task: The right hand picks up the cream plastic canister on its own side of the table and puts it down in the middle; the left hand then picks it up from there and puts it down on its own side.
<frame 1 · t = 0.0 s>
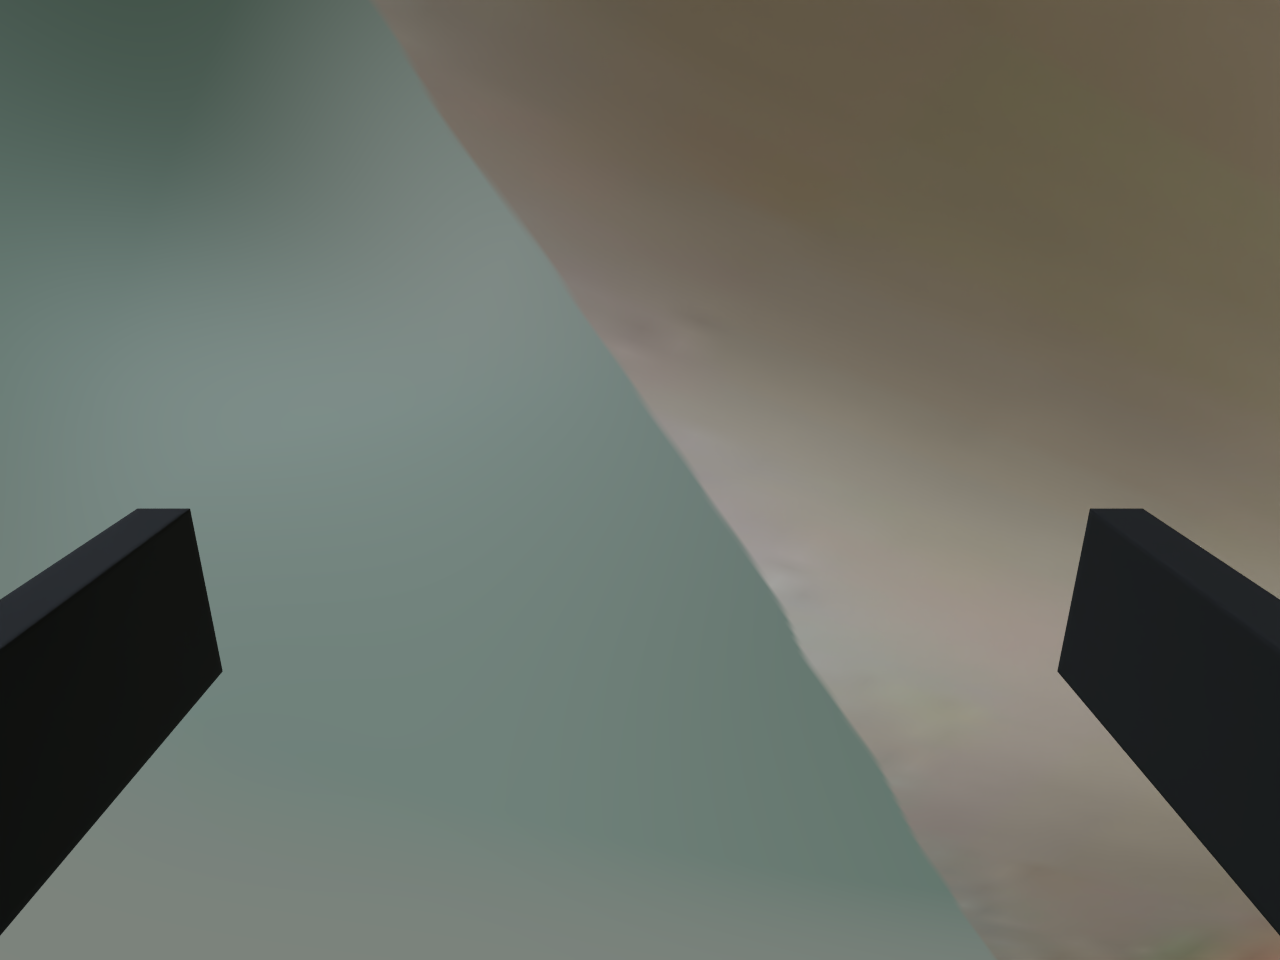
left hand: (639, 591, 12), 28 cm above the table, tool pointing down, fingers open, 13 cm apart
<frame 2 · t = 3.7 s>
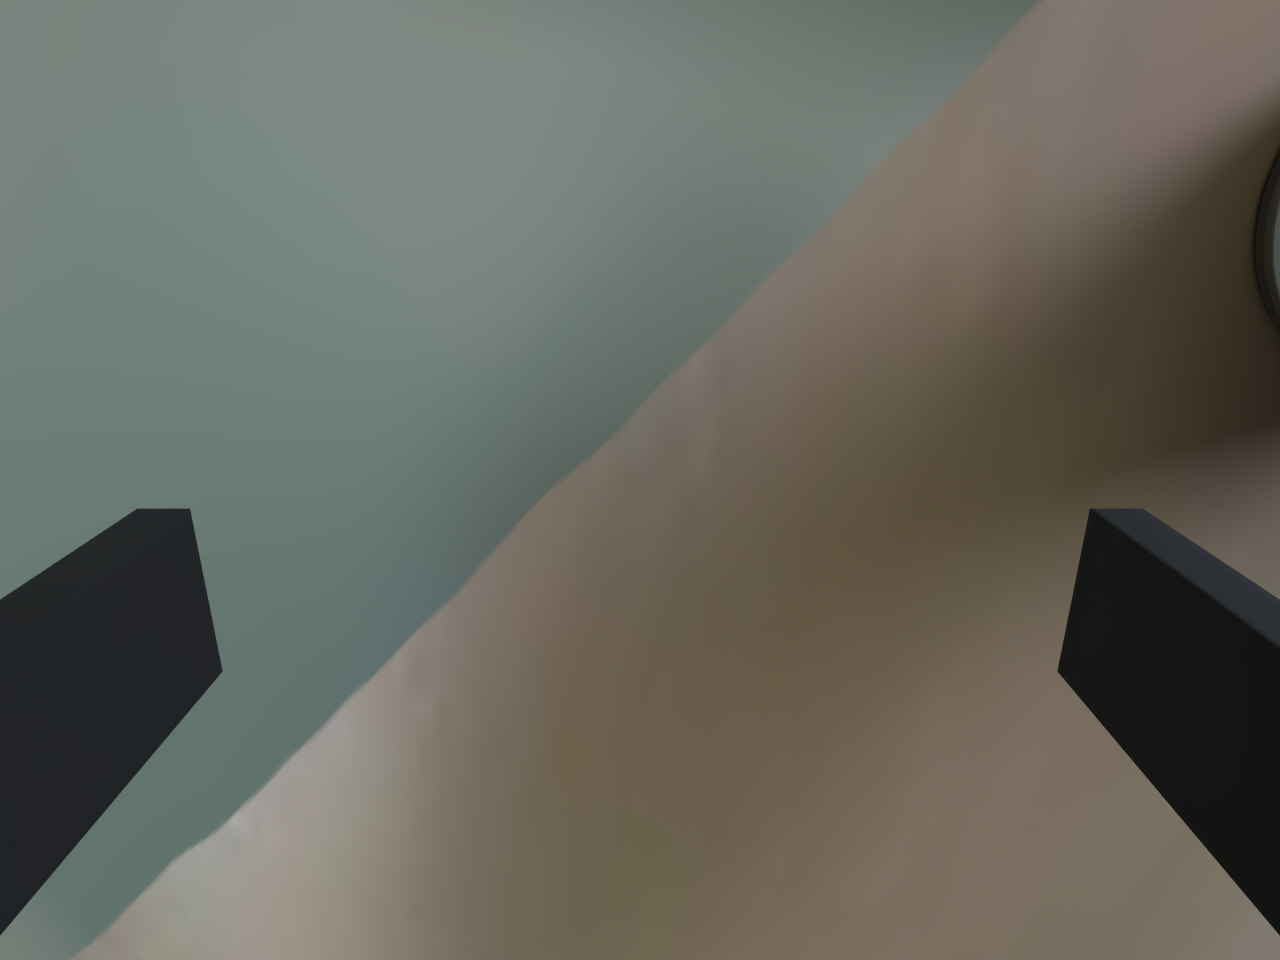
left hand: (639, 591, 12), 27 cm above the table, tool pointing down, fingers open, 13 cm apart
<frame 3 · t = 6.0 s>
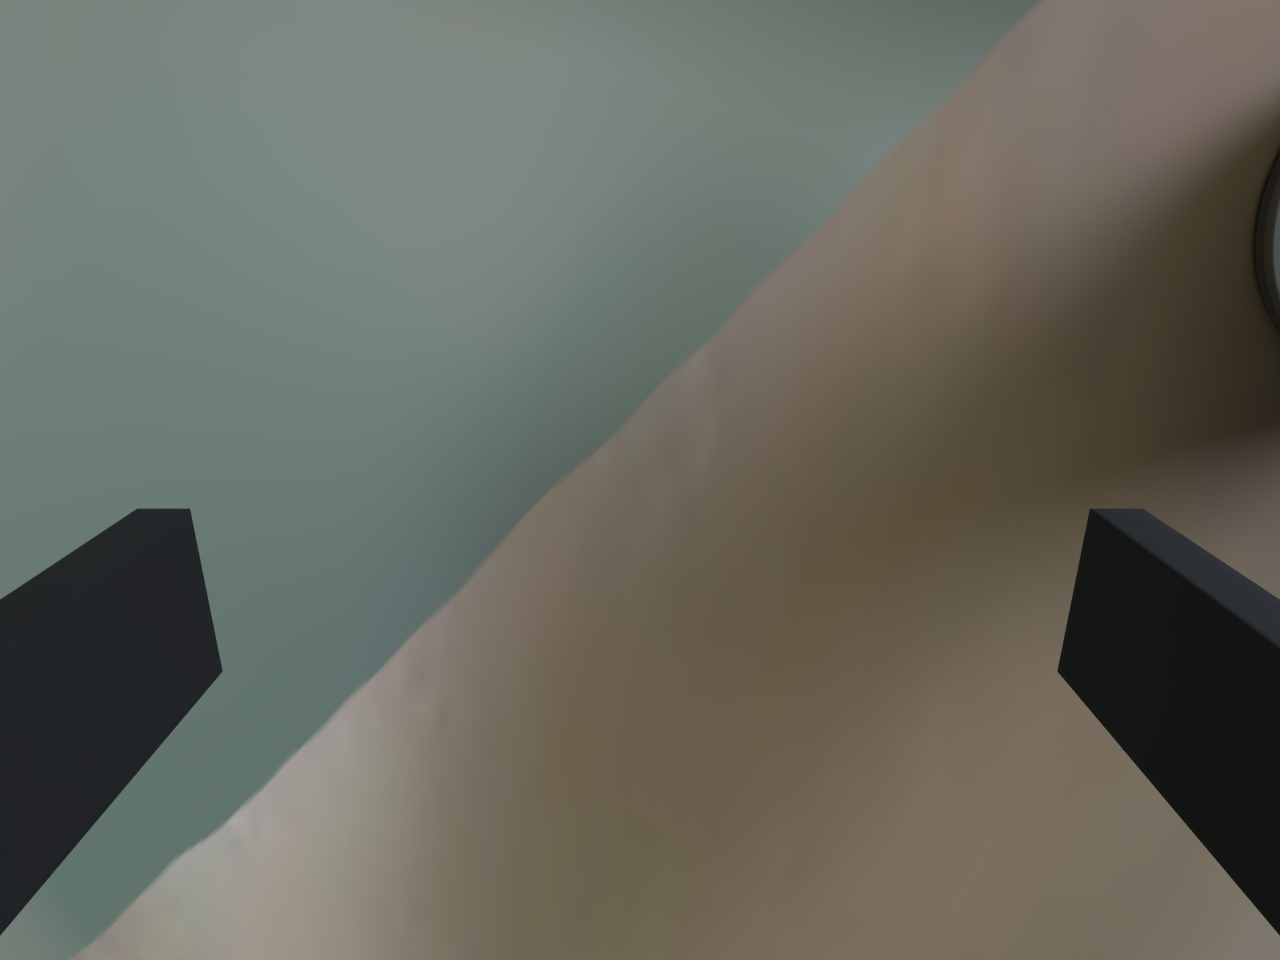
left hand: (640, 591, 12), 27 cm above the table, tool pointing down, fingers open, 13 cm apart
when the right hand's fingers open (5 cm above the table, at t = 8.7 s): canister drops 1 cm, on the table.
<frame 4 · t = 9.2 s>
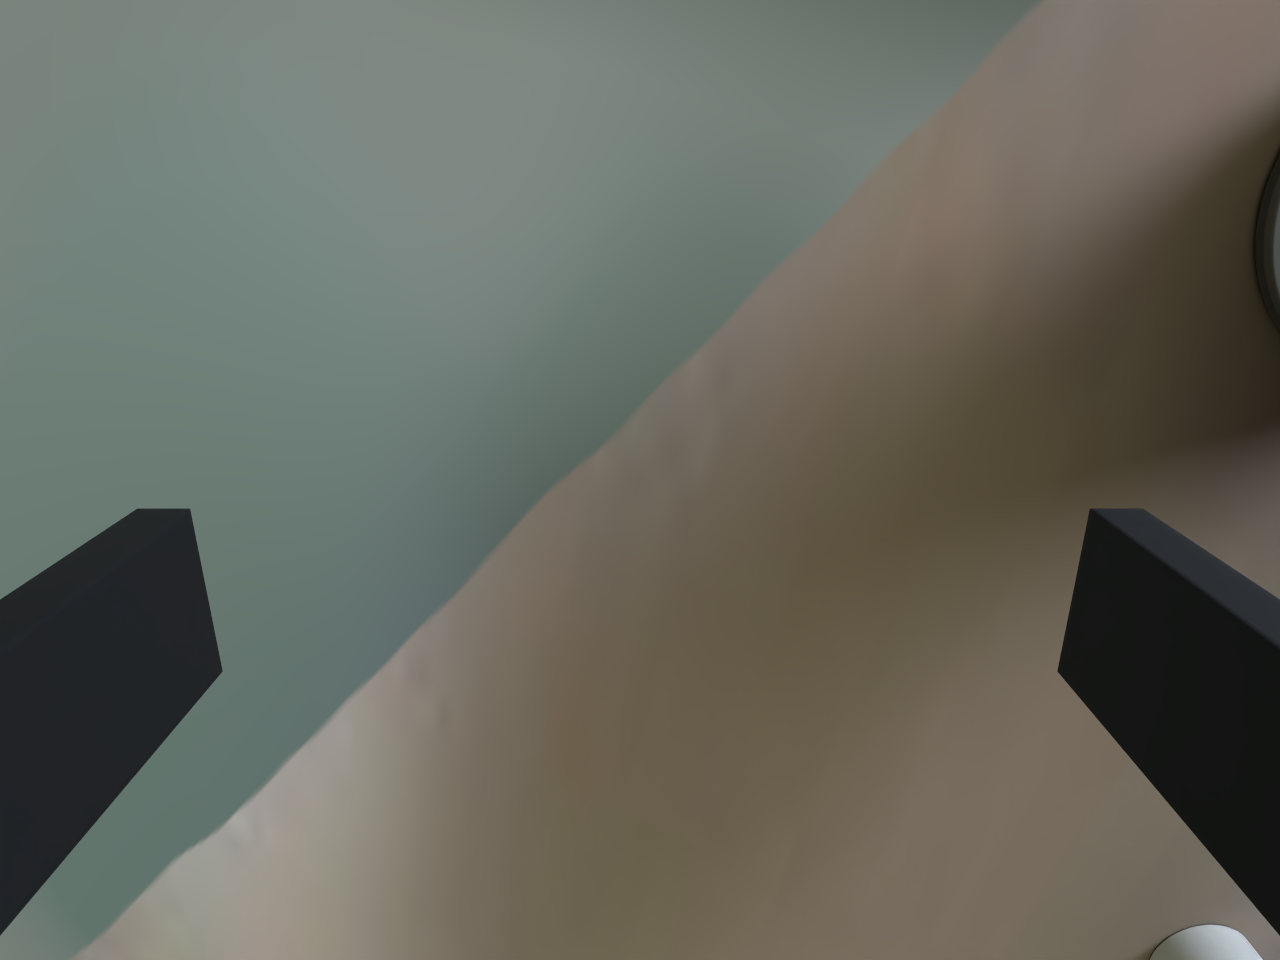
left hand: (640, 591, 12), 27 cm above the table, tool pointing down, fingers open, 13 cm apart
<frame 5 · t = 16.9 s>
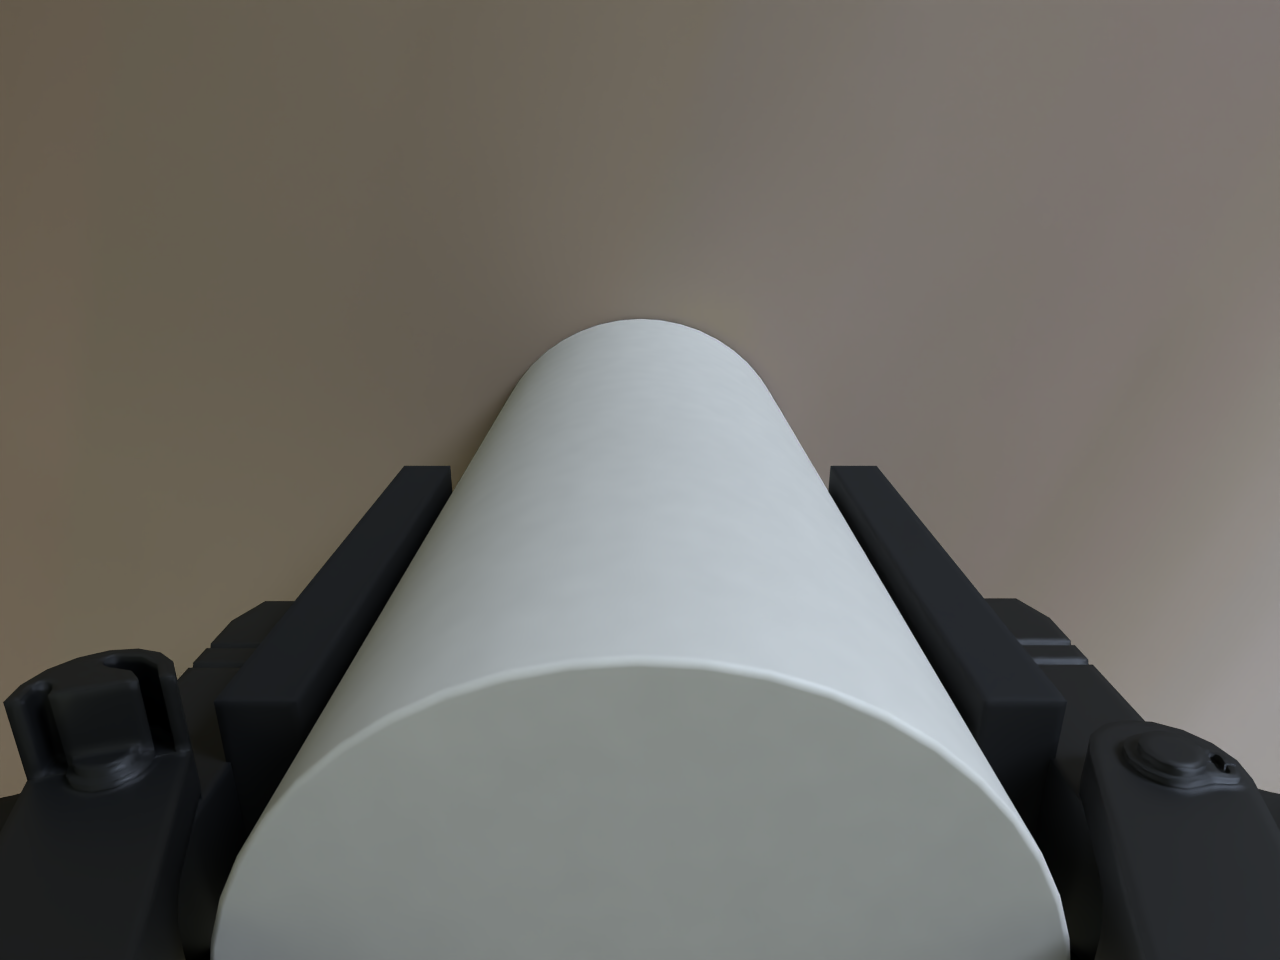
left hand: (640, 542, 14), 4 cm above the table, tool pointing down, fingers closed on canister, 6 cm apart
canister: (640, 464, 18), on the table, touching left hand
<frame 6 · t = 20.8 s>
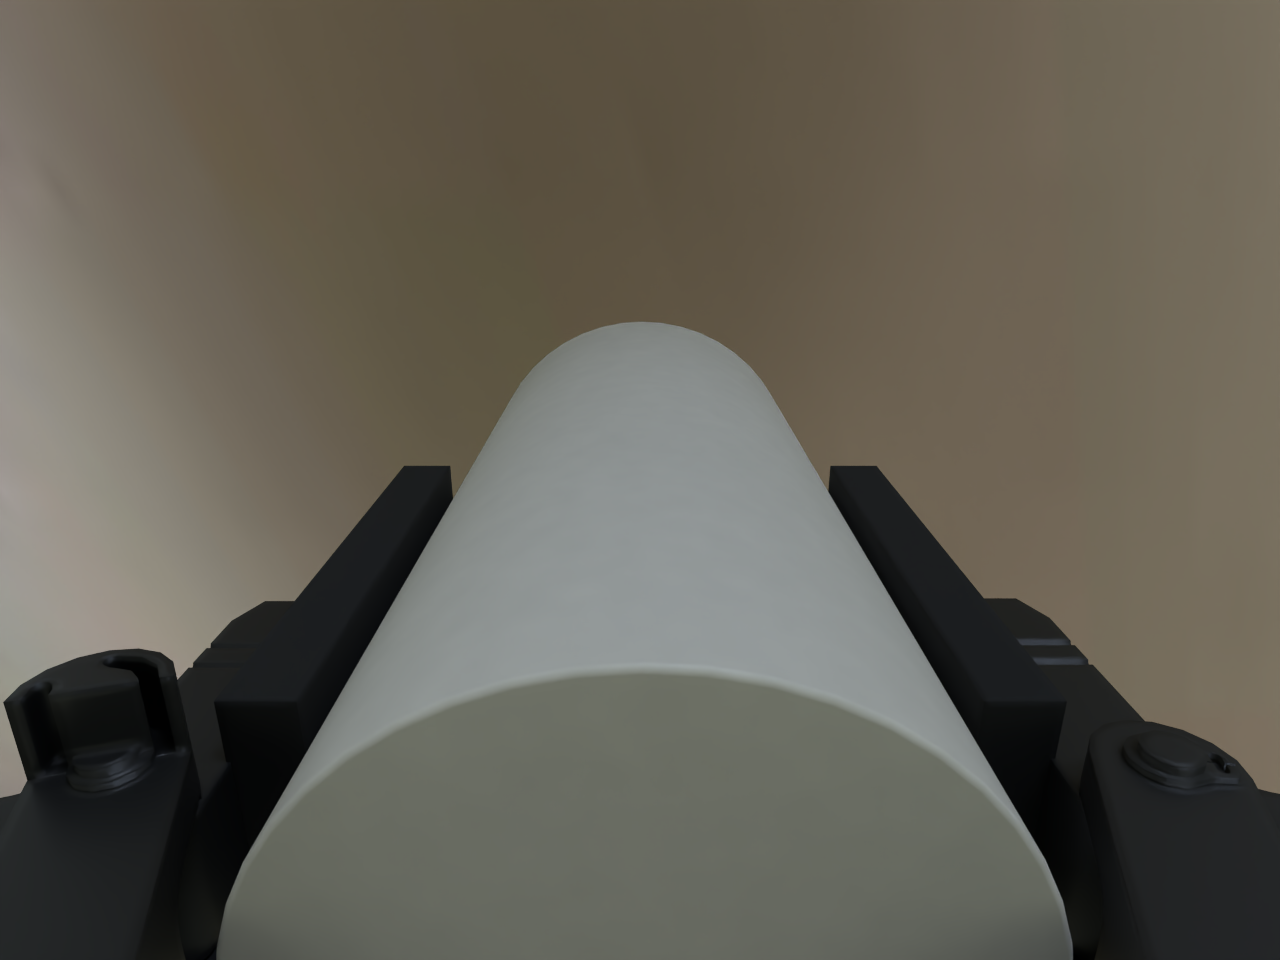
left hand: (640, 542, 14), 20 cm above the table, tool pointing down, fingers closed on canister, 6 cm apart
canister: (642, 467, 18), point 16 cm above the table, touching left hand
when the left hand's fingers open (5 cm above the table, at t = 24.8 s): canister drops 1 cm, on the table.
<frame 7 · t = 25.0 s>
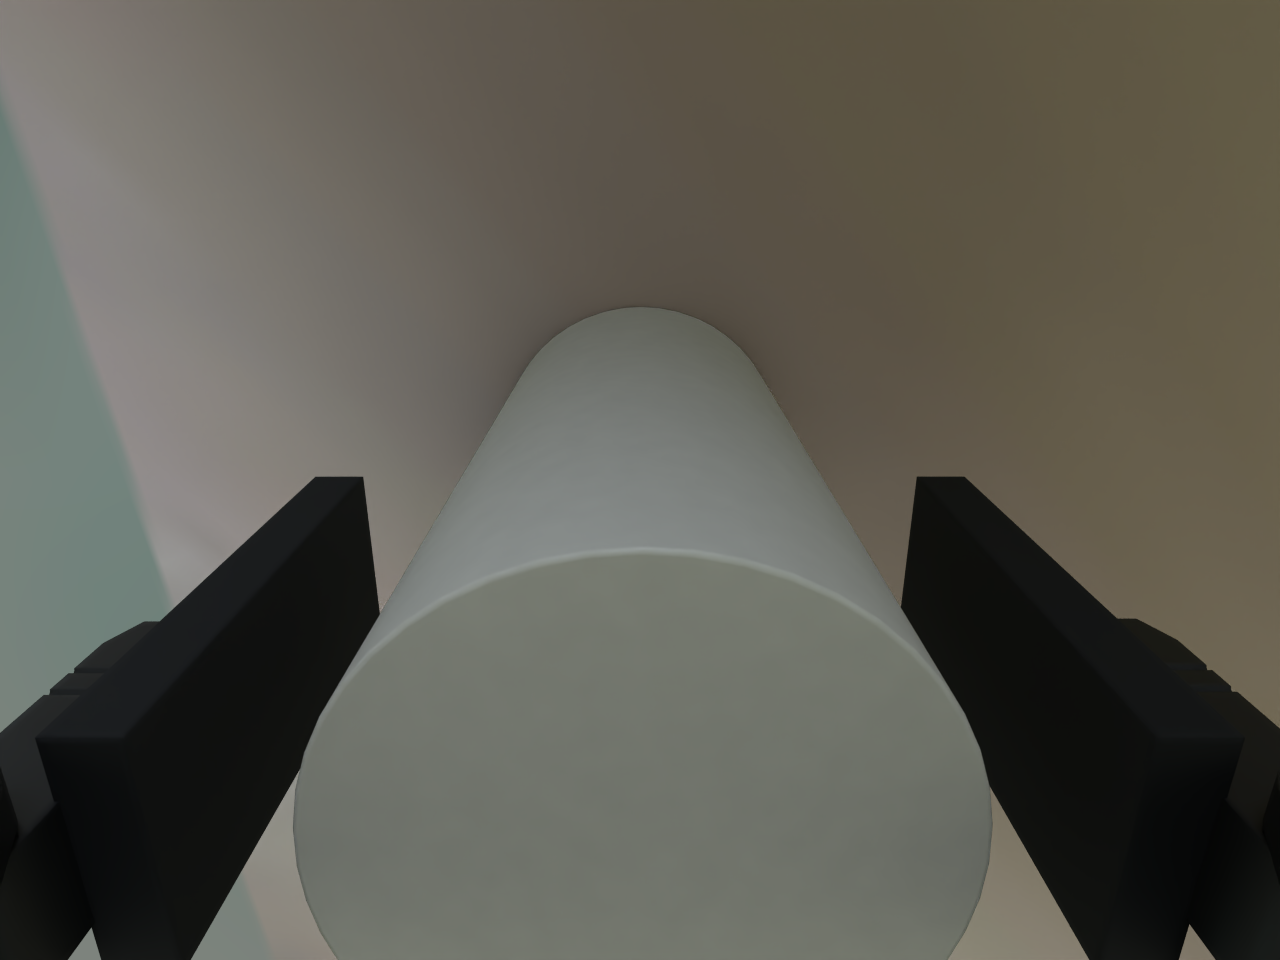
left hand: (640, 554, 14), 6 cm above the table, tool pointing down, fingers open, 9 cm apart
canister: (641, 442, 19), on the table
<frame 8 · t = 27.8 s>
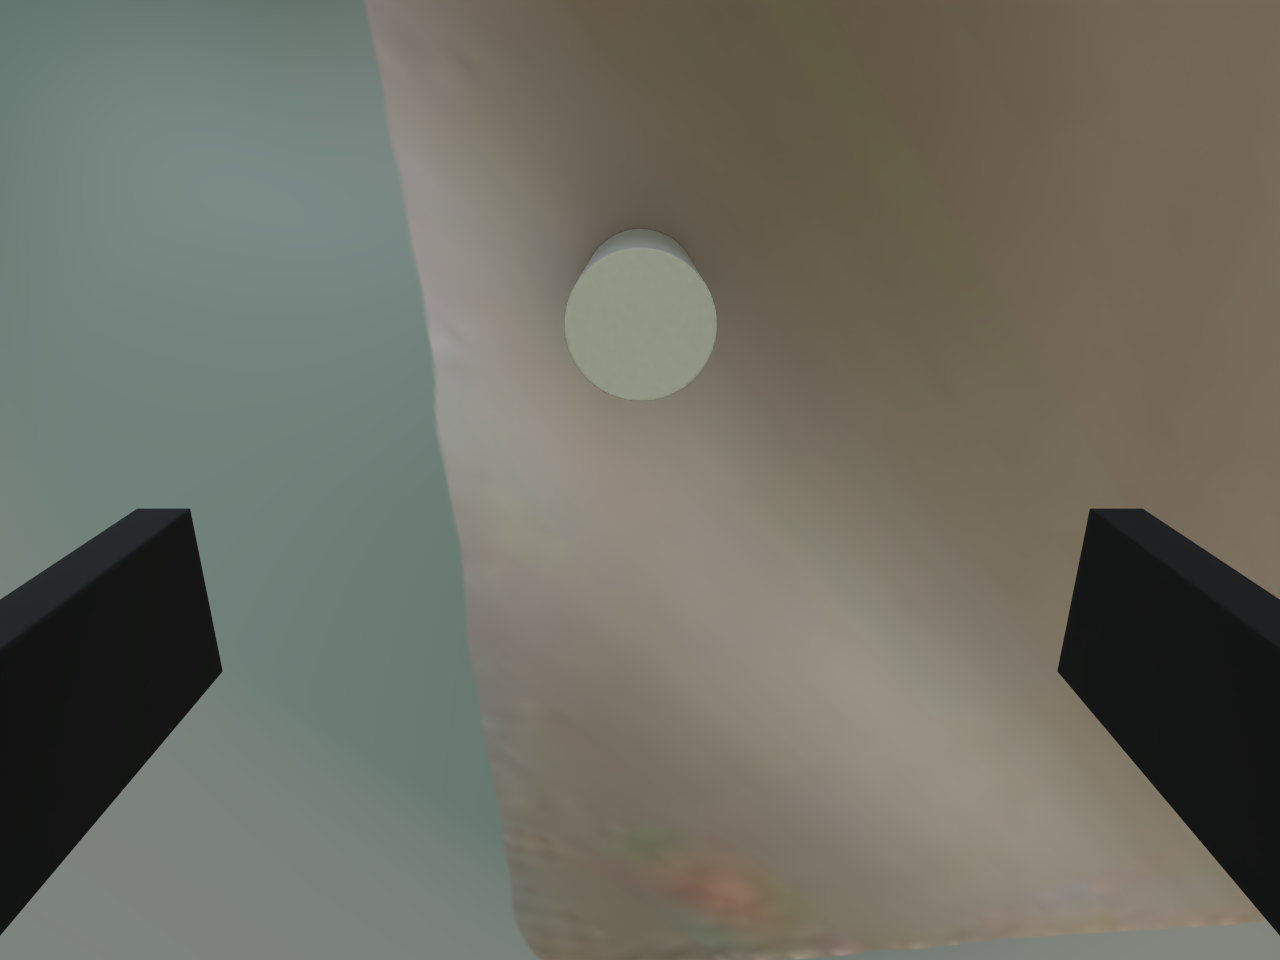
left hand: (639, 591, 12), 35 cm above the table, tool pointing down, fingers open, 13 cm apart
canister: (640, 287, 46), on the table
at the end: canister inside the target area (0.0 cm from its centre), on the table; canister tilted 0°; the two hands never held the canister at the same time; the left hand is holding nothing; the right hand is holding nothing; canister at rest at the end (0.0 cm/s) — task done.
